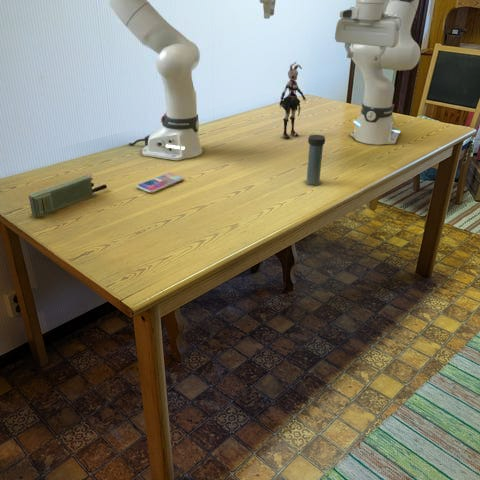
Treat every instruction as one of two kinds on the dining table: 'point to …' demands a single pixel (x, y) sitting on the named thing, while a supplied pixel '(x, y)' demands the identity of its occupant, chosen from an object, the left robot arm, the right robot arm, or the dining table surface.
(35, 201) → the handheld radio
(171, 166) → the dining table surface
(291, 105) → the figurine
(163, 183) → the smartphone
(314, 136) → the lid
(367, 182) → the dining table surface
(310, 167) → the jar
